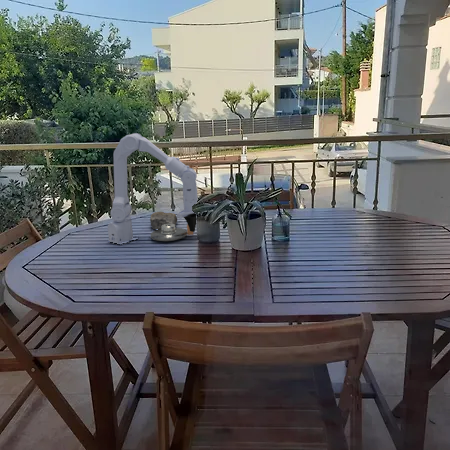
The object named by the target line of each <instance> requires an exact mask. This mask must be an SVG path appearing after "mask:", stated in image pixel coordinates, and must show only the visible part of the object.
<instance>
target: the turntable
mask: <svg viewBox="0 0 450 450" xmlns="http://www.w3.org/2000/svg"><path fill="white" fill-rule="evenodd" d="M175 230H176V233H175V234H171V235H163V234H161V231H162V229H158V230H155V229H154V231H151V232H150V239H152V240H153V241H157V242H172V241H177V240H181V239H184V238H186V237H187V236H194V232H191V231H190V229H189V226H188V224H187V223H186V229H184V228H182V227H175Z"/></svg>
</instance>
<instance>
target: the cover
mask: <svg viewBox="0 0 450 450" xmlns="http://www.w3.org/2000/svg"><path fill="white" fill-rule="evenodd" d="M161 227H162V231H161V234H163V235H171V234H175V233H176V230H175V228H176V225H175V224H164V225H162V226H161Z"/></svg>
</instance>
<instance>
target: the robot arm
mask: <svg viewBox="0 0 450 450" xmlns="http://www.w3.org/2000/svg"><path fill="white" fill-rule="evenodd" d="M135 151H138V152H143V153H144V152H146V153H149V155H151V156H152V157H155V158H156V159H157V160H158V161H160V162H162V163H163V164H164V167H165V168H164V169H166V170H167V171H169V172H170V173H172V174H173V175H174V176H175V177H177V178H178V179H180V181H181V182H182V198H183V210H181V211H179V212H177V213H176V217H177V219H183V218H184V220H185V221H186V225H187V224H188V226H189V229H190V231H191V232H193V233H194V232H196V227H197V223H196V214H195V213H194V212H193V211H192V206H193V205H194V204H196V203H197V201H198V188H197V184H198V183H197V172H196V170H194V168H192V167H190V165H188V164H187V165H186V164H185V163H183V162H182V161H181V158H179V157H178V156H177V157H175V156H169V155H167V154H166V152H164V151H163V150H162V149H160V148H159V147H158V146H156V145H155V144H154V143H153V142H151V141H150V140H149V139H148V138H146V137H144V136H142V134H140V133H137V132H134V133H132V134H126V135H125V136H123V137H122V138H121V139H120V140H119V143H118V144H117V146H116V147H115V149H114V150H113V180H114V181H113V182H114V183H113V184H114V197H113V198H114V199H113V202H112V208H111V210H110V217H111V219H112V221H111V222H109V223H108V225H107V234H108V241H110V242H113V243H112V244H114V243H117V244H122V242H125V241H129V240H132V239H133V237H134V234H133V221H132V217H131V213H132V210H133V209H132V205H131V204H130V198H129V196H128V195H129V194H128V191H129V190H128V157H129V156H130V155H131V154H133V152H135ZM198 202H199V201H198ZM110 242H109V243H110ZM117 244H116V245H117ZM122 245H123V244H122Z"/></svg>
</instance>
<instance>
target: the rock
mask: <svg viewBox="0 0 450 450" xmlns="http://www.w3.org/2000/svg"><path fill="white" fill-rule="evenodd" d="M149 221H150V226H151V229H152V230H155V229H162V227H161V226H162V225H164V224H175V226H177V223H178V218H177V214H176V213H173V212H164V211H154V212H152V214H150V219H149Z"/></svg>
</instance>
